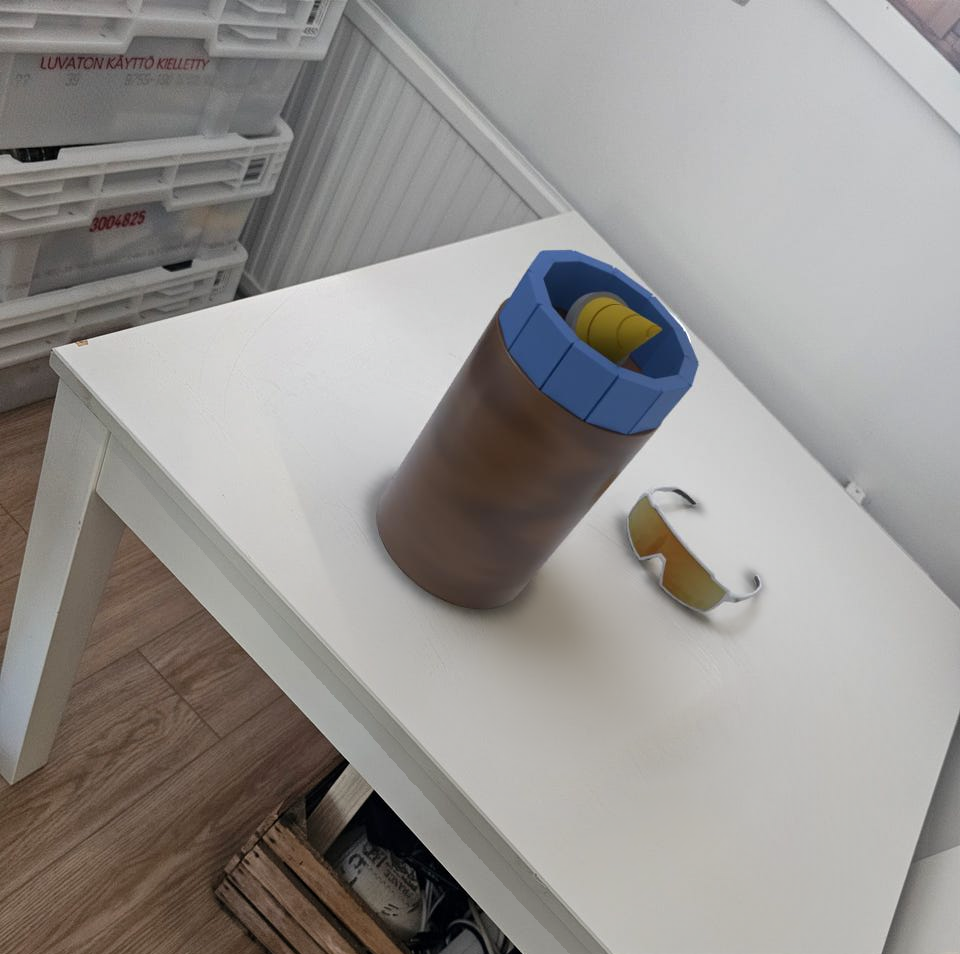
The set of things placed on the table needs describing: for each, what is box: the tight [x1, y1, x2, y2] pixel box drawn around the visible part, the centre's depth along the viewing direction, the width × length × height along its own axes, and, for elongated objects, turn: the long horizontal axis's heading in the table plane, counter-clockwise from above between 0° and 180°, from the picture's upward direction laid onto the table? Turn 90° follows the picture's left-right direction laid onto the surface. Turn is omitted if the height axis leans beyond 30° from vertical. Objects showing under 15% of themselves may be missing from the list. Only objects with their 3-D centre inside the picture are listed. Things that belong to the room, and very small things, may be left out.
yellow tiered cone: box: [565, 292, 662, 367], centre depth 70 cm, size 5×5×10 cm
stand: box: [376, 296, 664, 610], centre depth 79 cm, size 14×14×20 cm
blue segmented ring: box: [499, 249, 700, 434], centre depth 71 cm, size 13×13×4 cm
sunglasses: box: [626, 485, 763, 614], centre depth 101 cm, size 14×15×5 cm
